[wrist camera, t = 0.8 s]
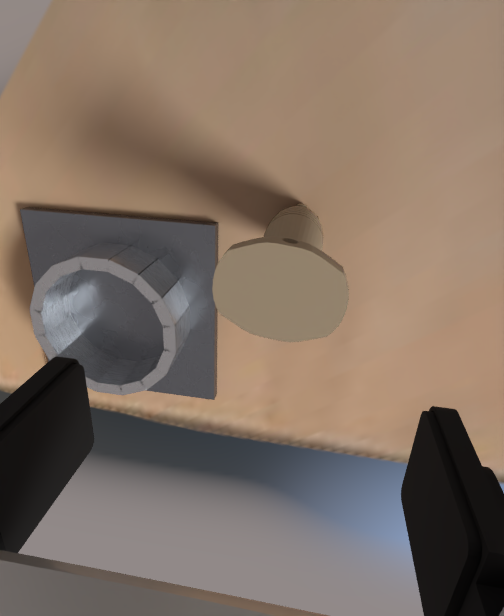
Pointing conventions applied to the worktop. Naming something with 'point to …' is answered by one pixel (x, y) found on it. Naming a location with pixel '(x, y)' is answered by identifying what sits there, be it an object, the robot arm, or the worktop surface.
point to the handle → (283, 281)
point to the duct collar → (126, 298)
